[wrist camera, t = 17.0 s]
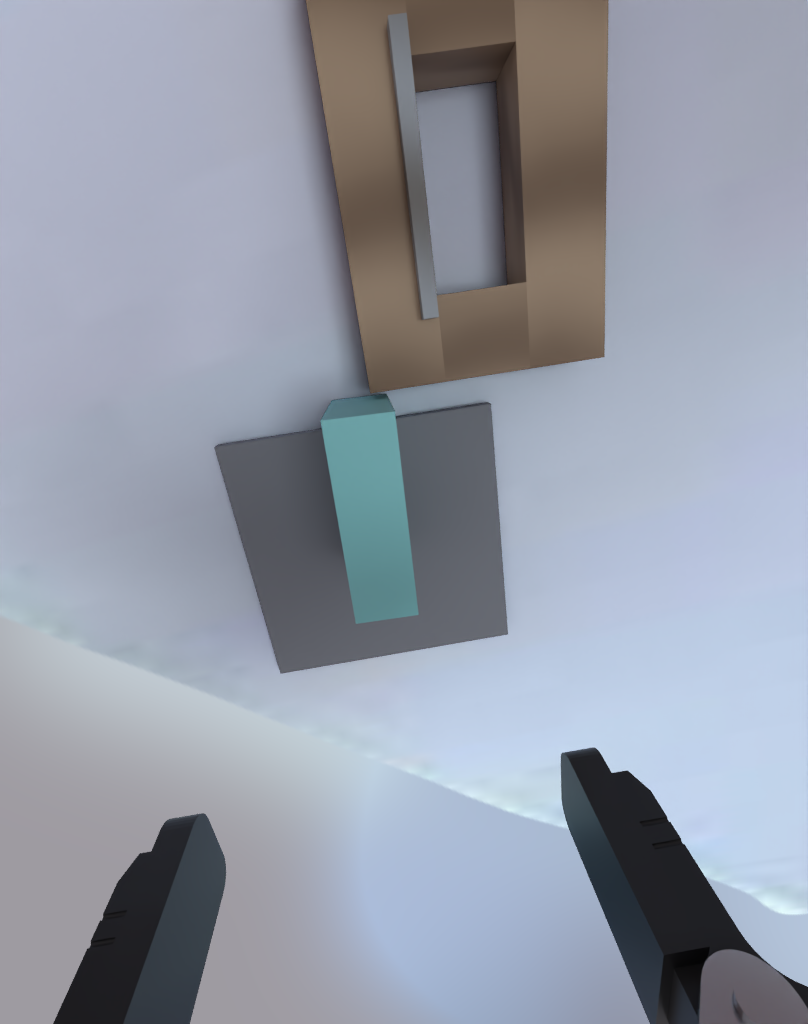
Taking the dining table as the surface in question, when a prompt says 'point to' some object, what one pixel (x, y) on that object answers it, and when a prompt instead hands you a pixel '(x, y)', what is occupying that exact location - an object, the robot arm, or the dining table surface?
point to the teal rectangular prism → (370, 506)
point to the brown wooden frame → (524, 172)
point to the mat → (319, 553)
